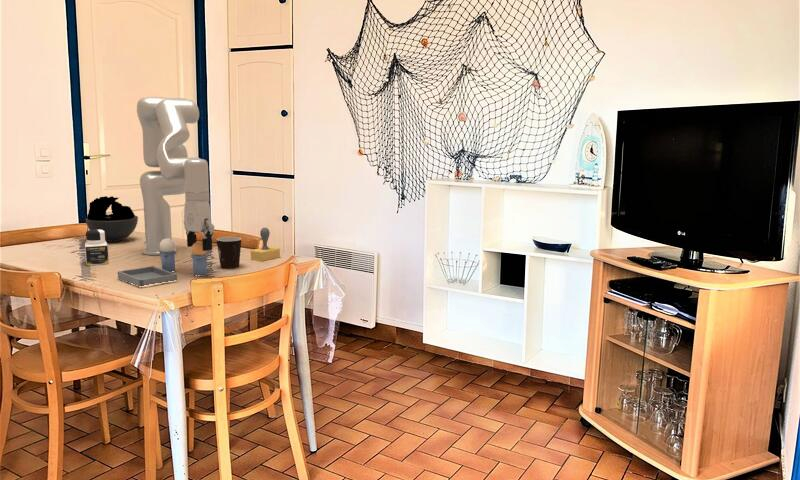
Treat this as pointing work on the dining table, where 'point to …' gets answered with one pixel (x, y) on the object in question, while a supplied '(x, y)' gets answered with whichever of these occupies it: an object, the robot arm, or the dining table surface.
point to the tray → (146, 275)
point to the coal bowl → (111, 218)
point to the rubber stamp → (265, 249)
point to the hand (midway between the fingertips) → (199, 248)
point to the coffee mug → (229, 252)
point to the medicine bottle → (96, 248)
